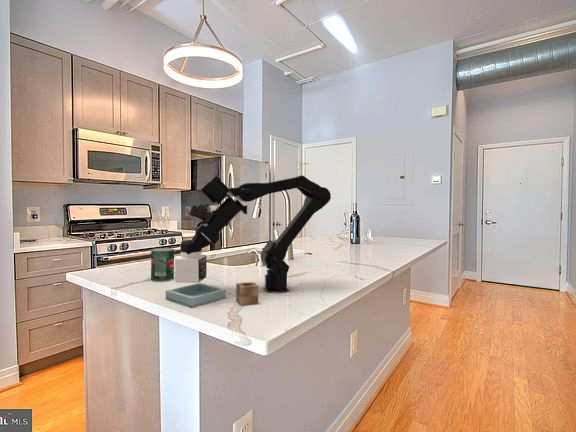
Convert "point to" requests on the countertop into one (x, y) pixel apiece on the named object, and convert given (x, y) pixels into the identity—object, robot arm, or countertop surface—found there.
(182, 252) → the medicine bottle
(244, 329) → the countertop surface
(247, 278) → the countertop surface
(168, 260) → the canned tomato
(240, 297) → the brown open box
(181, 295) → the tray
